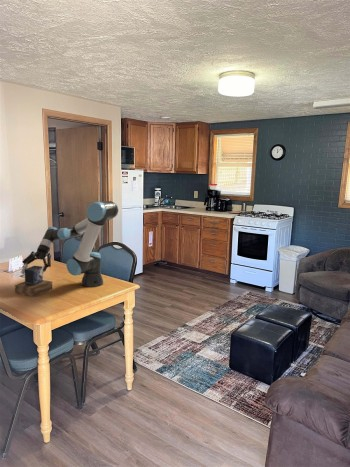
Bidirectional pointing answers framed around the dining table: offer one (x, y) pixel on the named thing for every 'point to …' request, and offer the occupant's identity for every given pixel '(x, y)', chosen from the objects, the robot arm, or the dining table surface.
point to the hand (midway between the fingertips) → (31, 274)
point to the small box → (33, 275)
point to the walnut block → (33, 288)
